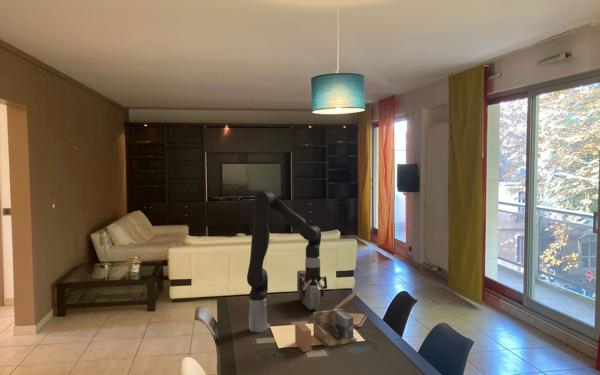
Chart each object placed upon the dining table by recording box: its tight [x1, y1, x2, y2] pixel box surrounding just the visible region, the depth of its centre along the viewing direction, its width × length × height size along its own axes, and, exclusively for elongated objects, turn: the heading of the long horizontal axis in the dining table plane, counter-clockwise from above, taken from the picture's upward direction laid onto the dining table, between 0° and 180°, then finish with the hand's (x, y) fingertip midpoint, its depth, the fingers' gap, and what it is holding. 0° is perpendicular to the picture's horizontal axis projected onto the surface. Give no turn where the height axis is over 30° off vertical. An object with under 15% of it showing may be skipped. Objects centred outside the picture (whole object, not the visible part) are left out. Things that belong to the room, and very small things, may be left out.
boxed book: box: [294, 321, 312, 353], centre depth 219 cm, size 4×12×10 cm, turn 19°
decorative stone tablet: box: [296, 269, 321, 310], centre depth 283 cm, size 19×6×30 cm
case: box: [332, 289, 368, 329], centre depth 255 cm, size 20×21×16 cm
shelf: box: [312, 308, 358, 347], centre depth 229 cm, size 17×16×12 cm
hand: (313, 296), depth 230 cm, fingers open, 8 cm apart
